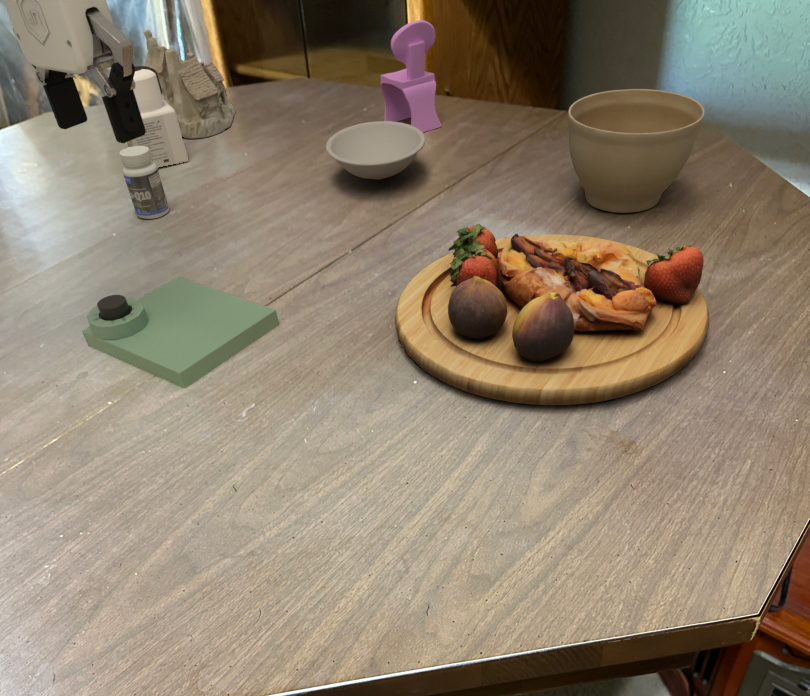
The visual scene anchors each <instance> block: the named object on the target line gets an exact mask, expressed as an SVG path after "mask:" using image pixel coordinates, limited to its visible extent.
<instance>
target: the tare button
mask: <svg viewBox="0 0 810 696" xmlns="http://www.w3.org/2000/svg"><path fill="white" fill-rule="evenodd" d="M96 306H98V309H99V311H100V314H101V316H102V318H103V320H105V321H113V320H117V319H121V318H123V317H125V316H127V315H129V314H130V309H129V306H128V303H127V301H126V297H125V296H124V295H122V294H111V295H107V296H104V297H102V298H101V299H100V300H98V302H97V303H96Z"/></svg>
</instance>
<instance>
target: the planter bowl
mask: <svg viewBox="0 0 810 696" xmlns="http://www.w3.org/2000/svg"><path fill="white" fill-rule="evenodd" d="M704 108H705V107H704V106H703V105H702V104H701V103H700V102H699V101H697V100H696V99H694V98H692V97H689V96H687V95H685V94H680V93H676V92H673V91H667V90H660V89H650V88H649V89H648V88H629V89H613V90H607V91H606V90H605V91H601V92H597V93H591V94H589V95H586V96H583V97H581V98H579V99H577V100H576V101H574V102H573V103H572V104H571V105H570V106H569V108H568V113H567V117H568V118H567V119H568V120H567V121H568V125H569V126H568V147H569V154H570V159H571V163H572V166H573V170H574V172H575V174H576V177H577V179H578V181H579V183H580V184H581V186H582V188H583V190H584V194H585V195H584V196H585V200H586V202H587V203H588V204H589V205H590V206H592V207H593V208H596V209H598V210H601V211H605V212H609V213H618V214H631V213H639V212H642V211H646V210H649V209H652V208H654V207H655V206H656V205H657V204H658V203H659V201H660V198H661V196H662V193H663V192H665V191H666V190H667V189H668V188H669V186H671V184H672V183H673V182H674V181H675V180H676V179H677V177H678V176H679V174H680V173H681V171H682V170H683V169H684V167H685V165H686V163H687V161H688V159H689V158H690V156H691V154H692V152H693V149H694V147H695V144H696V141H697V138H698V134H699V130H700V127H701V126H702V123H703V121H704V117H705V111H706V110H705V109H704Z"/></svg>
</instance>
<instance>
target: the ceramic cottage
mask: <svg viewBox="0 0 810 696" xmlns="http://www.w3.org/2000/svg"><path fill="white" fill-rule="evenodd" d="M143 35H144V37H145V42H146V43H145V44H146V48H147V55H146V61H145V63H144V66H147V67H150V68H153V69H154V70H155V71H156V72H157V74H158V78H159V82H160V85H161V89H162V93H163V96H164V100H165V101H166V102H167V103H168V104H169V105H170V106H171V107H172V108H173V109H174V110H175V112H176V116H177V119H178V123H179V127H180V131H181V134H182V137H184V138H183V139H189V140H191V139H203V138H204V139H205V138H209V137H213V136H216V135H218V134H220V133H222V132H224V131H225V130H226V129H228V128H230V127H231V125H232V123H233V121H234V117H235V115H236V113H237V110H236V108H235V105H233V104H232V103H230V101H229V100H228V98H227V97H228V94H227V89H226V87H225V86H226V85H225V84H224V83H223V82H224V81H225V78H224V77H223V74H222V73H221V72H220V70H219V69H218V68H217V66H216V64H214V62H212V61H209V62H206V63H204V62H203V61H199V59H198V57H196V56H195V54H194V52H187V53H186V60H183V59H182V58H181V59H180V57H179V56H178V52H177V50H175V48H173V47H169V48H167V47H166V46H164V45H163V46H162V45H161V46H160V44H159V43H158V41H157V38H155V37H153V34H152V31H151V30H150V29H146V30H144V31H143Z"/></svg>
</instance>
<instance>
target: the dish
mask: <svg viewBox="0 0 810 696" xmlns="http://www.w3.org/2000/svg"><path fill="white" fill-rule="evenodd" d="M425 144H426V136H425V134H424V132H422V131H421V130H419V129H418V128H416V127H414V126H412V125H411V124H408V123H404V122H400V121H397V122H392V121H384V120H381V121H380V120H379V121H378V120H377V121H368V122H362V123H357V124H354V125H350V126H347V127H345V128H343V129H340V130H339V131H337V132H335V133H333V135H331V136H330V137H329V138H328V140H327V141H326V144H325V150H326V153H327V155H329V157H330V158H332V159H333V160H335V161H336V163H338V165H340V166H341V168H342V169H344V170H345V171H347V173H350V174H352V175H353V176H356V177H358V178H362V179H368V180H383V179H386V178H390V177H393V176H395V175H397V174H399V173H401V172H402V171H404V170H405V169H406V168H407V167H408V166H410V164H411V163H412V162H413V161H414V160H415V158H416V157H417V155H418V154H419V152H420V151H421V150H422V149H423V148H424V146H425Z"/></svg>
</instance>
